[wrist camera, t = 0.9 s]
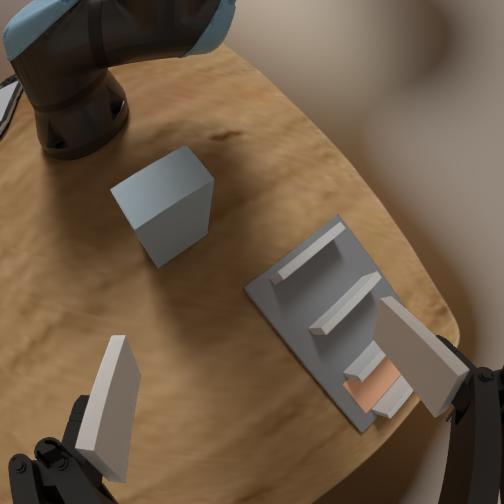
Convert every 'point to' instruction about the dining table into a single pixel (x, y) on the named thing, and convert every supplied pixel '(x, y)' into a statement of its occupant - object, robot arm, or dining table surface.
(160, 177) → the tall grey pillar
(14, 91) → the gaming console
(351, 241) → the rack
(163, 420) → the dining table surface
